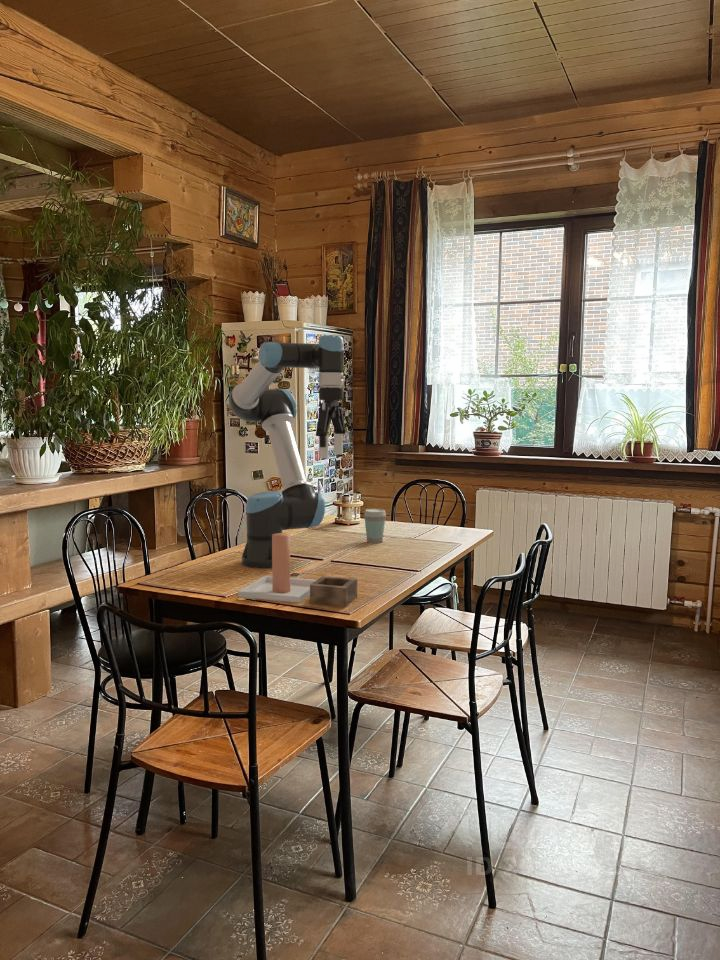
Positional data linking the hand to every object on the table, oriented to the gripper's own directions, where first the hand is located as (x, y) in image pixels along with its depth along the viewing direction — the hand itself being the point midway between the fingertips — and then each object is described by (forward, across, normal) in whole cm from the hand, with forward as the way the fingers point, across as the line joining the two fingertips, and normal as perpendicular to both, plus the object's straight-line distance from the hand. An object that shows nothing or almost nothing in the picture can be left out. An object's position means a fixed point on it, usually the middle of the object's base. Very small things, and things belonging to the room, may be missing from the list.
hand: (331, 456), depth 228 cm
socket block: (+37, -32, -12) cm, 50 cm away
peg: (+36, -28, +5) cm, 46 cm away
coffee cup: (+37, +50, 0) cm, 62 cm away
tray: (+37, -28, +5) cm, 46 cm away
